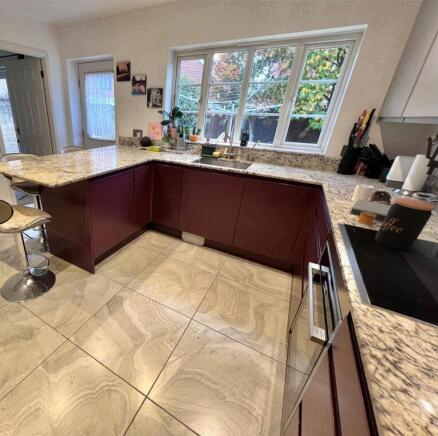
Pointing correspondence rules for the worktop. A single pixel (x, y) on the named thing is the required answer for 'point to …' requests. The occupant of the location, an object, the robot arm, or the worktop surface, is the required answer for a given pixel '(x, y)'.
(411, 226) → the coffee jar
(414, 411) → the worktop surface
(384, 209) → the brew lid
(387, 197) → the pottery mug
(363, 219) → the coffee pod
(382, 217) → the drip tray
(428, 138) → the robot arm
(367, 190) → the white cup
